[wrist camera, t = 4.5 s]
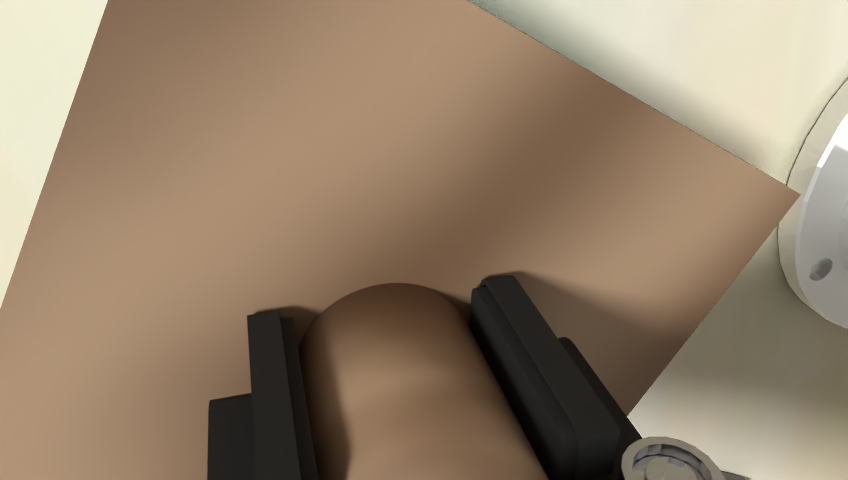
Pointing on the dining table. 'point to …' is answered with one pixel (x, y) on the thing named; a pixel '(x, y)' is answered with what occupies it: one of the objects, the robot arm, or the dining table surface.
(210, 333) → the lid
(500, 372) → the robot arm
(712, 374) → the dining table surface
